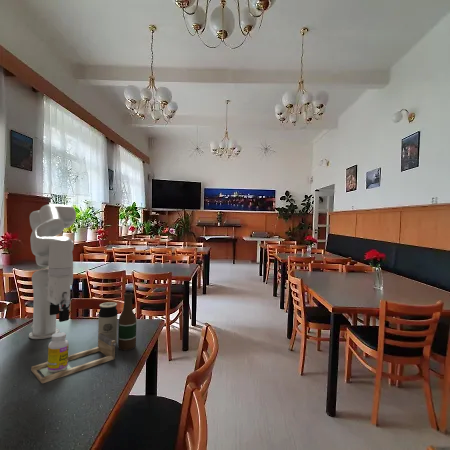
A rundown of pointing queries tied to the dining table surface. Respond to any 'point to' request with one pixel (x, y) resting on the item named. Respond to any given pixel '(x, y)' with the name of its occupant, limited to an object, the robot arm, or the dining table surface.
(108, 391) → the dining table surface
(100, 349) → the frame
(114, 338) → the travel mug
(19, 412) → the dining table surface
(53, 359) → the supplement bottle
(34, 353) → the dining table surface
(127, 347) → the beer bottle
